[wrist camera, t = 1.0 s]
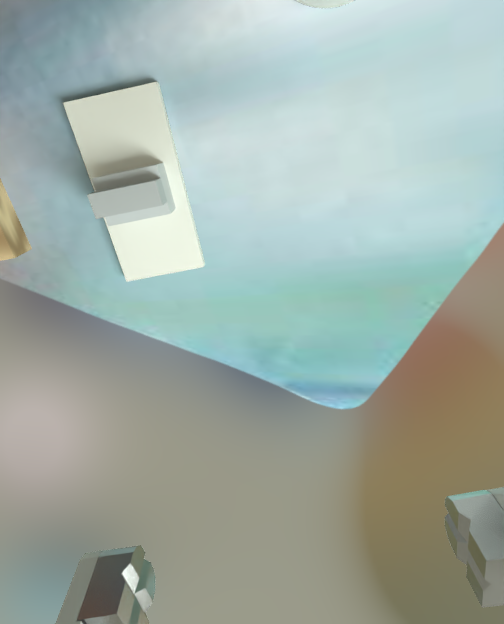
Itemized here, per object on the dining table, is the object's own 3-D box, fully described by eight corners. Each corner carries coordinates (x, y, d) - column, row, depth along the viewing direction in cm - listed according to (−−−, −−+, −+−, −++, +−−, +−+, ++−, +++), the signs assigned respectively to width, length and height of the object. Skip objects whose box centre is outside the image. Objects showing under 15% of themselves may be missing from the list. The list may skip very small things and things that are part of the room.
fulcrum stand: (67, 103, 40) (34, 97, 34) (159, 83, 39) (142, 72, 33) (129, 278, 48) (111, 299, 42) (205, 263, 48) (199, 283, 41)
